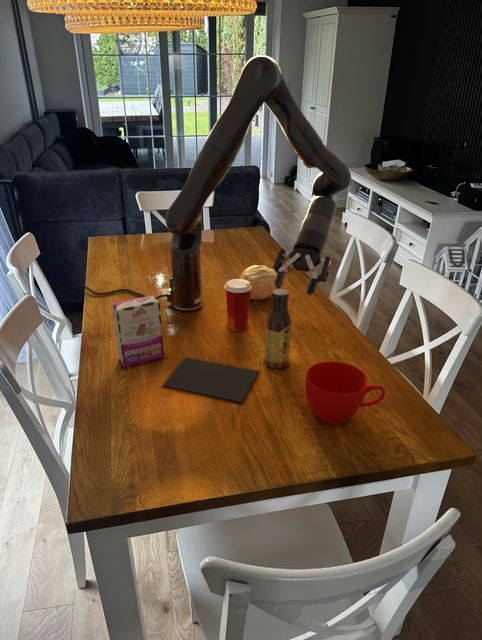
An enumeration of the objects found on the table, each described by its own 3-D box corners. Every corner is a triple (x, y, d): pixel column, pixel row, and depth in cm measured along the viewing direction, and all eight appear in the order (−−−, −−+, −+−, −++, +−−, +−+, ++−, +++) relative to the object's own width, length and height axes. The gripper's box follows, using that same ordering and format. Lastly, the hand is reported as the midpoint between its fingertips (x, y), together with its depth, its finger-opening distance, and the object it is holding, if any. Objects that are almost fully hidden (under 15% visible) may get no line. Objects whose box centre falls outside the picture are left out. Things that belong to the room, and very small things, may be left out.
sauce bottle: (286, 370, 124) (292, 299, 114) (262, 368, 125) (265, 296, 115) (289, 358, 130) (294, 288, 120) (266, 355, 131) (269, 286, 121)
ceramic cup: (382, 439, 101) (390, 399, 96) (300, 429, 104) (304, 390, 99) (377, 402, 112) (384, 365, 107) (303, 394, 115) (307, 358, 110)
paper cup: (253, 323, 147) (255, 280, 140) (246, 334, 141) (247, 289, 134) (229, 319, 149) (229, 276, 142) (220, 330, 143) (220, 286, 136)
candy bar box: (158, 349, 133) (154, 294, 125) (164, 358, 129) (160, 301, 121) (118, 359, 128) (110, 302, 120) (123, 368, 125) (116, 310, 116)
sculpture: (249, 305, 158) (250, 274, 153) (234, 292, 168) (234, 262, 162) (280, 300, 162) (282, 269, 157) (263, 287, 172) (265, 257, 166)
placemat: (162, 386, 117) (162, 385, 117) (186, 358, 129) (185, 357, 129) (241, 403, 112) (241, 402, 112) (258, 372, 123) (258, 371, 123)
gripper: (284, 223, 127) (263, 279, 124) (337, 231, 122) (317, 290, 119) (291, 238, 134) (271, 291, 131) (341, 246, 128) (322, 302, 125)
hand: (293, 290), depth 125 cm, fingers open, 8 cm apart
